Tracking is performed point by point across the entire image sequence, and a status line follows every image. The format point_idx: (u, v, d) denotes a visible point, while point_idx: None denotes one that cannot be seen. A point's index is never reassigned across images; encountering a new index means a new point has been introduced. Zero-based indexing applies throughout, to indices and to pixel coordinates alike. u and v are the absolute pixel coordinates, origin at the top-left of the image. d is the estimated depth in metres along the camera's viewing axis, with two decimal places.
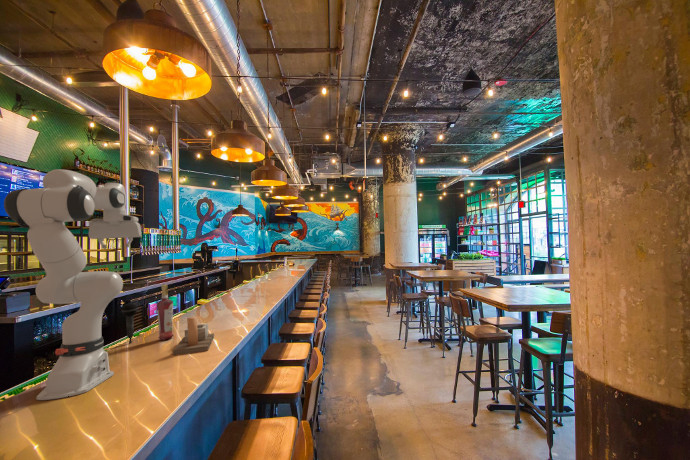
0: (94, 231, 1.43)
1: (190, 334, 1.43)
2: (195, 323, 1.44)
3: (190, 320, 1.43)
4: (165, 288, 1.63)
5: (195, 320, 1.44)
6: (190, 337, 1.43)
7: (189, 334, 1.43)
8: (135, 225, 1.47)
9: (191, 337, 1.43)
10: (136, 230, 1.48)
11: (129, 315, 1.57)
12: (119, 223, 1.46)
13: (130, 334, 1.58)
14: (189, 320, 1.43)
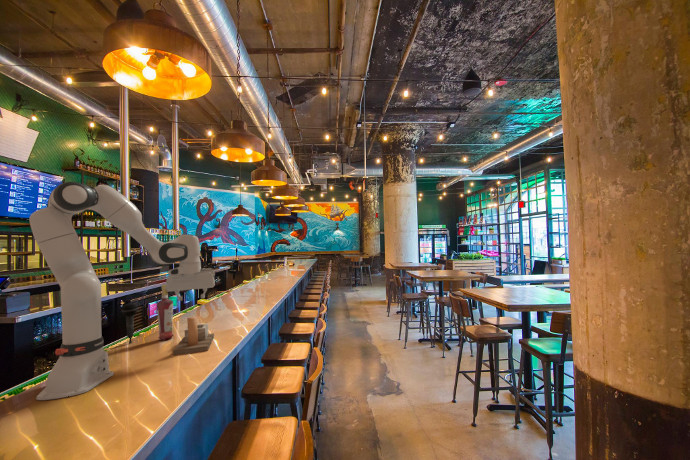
0: None
1: (190, 334, 1.43)
2: (195, 323, 1.44)
3: (190, 320, 1.43)
4: (165, 288, 1.63)
5: (195, 320, 1.44)
6: (190, 337, 1.43)
7: (189, 334, 1.43)
8: None
9: (191, 337, 1.43)
10: None
11: (129, 315, 1.57)
12: None
13: (130, 334, 1.58)
14: (189, 320, 1.43)
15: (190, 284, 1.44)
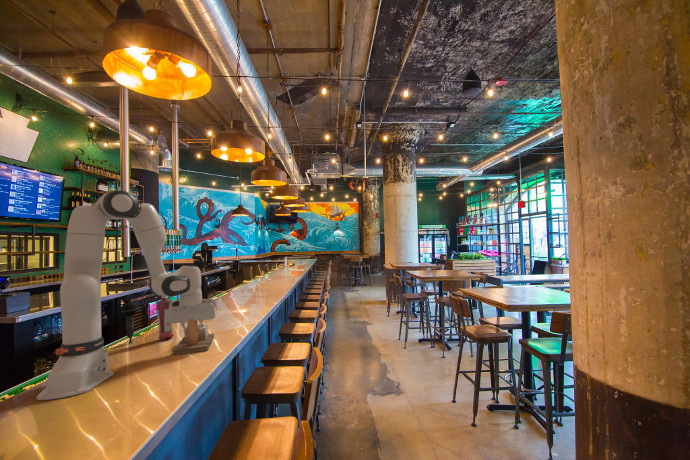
0: None
1: (190, 334, 1.43)
2: (195, 323, 1.44)
3: (190, 320, 1.43)
4: None
5: None
6: (190, 337, 1.43)
7: (189, 334, 1.43)
8: None
9: (191, 337, 1.43)
10: None
11: (129, 315, 1.57)
12: None
13: (130, 334, 1.58)
14: (189, 320, 1.43)
15: (191, 316, 1.44)
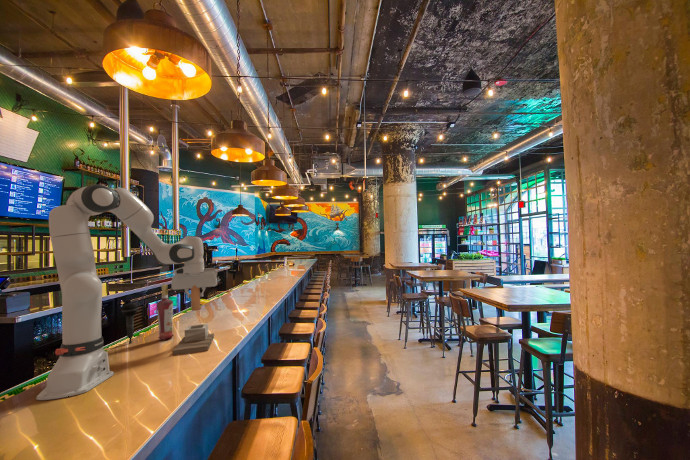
0: None
1: (193, 300, 1.53)
2: (198, 290, 1.55)
3: (193, 287, 1.53)
4: (165, 288, 1.63)
5: None
6: (193, 303, 1.53)
7: (192, 300, 1.53)
8: None
9: (194, 302, 1.53)
10: None
11: (129, 315, 1.57)
12: None
13: (130, 334, 1.58)
14: None
15: (194, 283, 1.54)
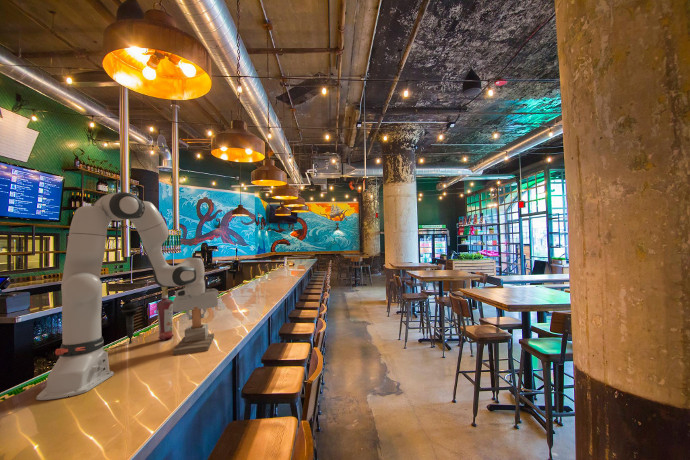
0: None
1: (195, 321, 1.53)
2: (199, 311, 1.54)
3: (195, 308, 1.53)
4: (165, 288, 1.63)
5: None
6: (194, 324, 1.53)
7: (194, 322, 1.53)
8: None
9: (196, 324, 1.53)
10: None
11: (129, 315, 1.57)
12: None
13: (130, 334, 1.58)
14: (194, 308, 1.53)
15: (196, 304, 1.53)
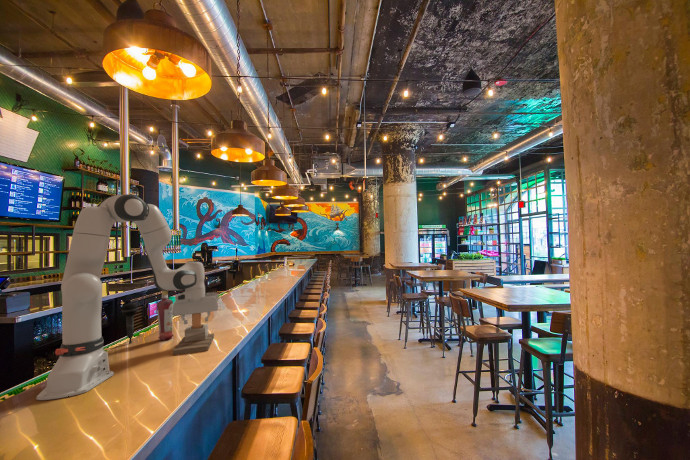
0: None
1: None
2: (199, 318, 1.54)
3: (195, 315, 1.53)
4: None
5: (199, 315, 1.54)
6: None
7: None
8: None
9: None
10: None
11: (129, 315, 1.57)
12: None
13: (130, 334, 1.58)
14: (194, 315, 1.53)
15: (196, 308, 1.53)
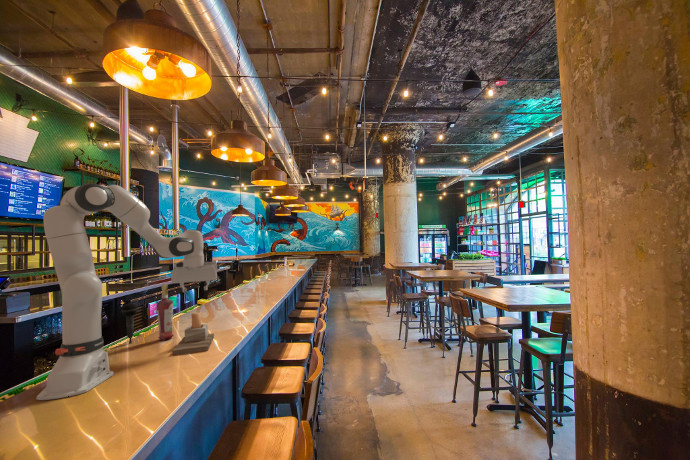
0: None
1: None
2: (199, 318, 1.54)
3: (195, 315, 1.53)
4: (165, 288, 1.63)
5: (199, 315, 1.54)
6: None
7: None
8: None
9: None
10: None
11: (129, 315, 1.57)
12: None
13: (130, 334, 1.58)
14: (194, 315, 1.53)
15: (194, 276, 1.54)
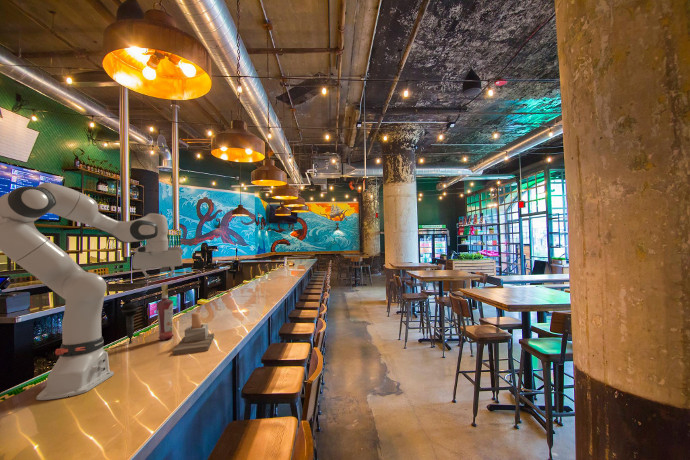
0: None
1: None
2: (199, 318, 1.54)
3: (195, 315, 1.53)
4: (165, 288, 1.63)
5: (199, 315, 1.54)
6: None
7: None
8: None
9: None
10: None
11: (129, 315, 1.57)
12: None
13: (130, 334, 1.58)
14: (194, 315, 1.53)
15: (158, 262, 1.47)
